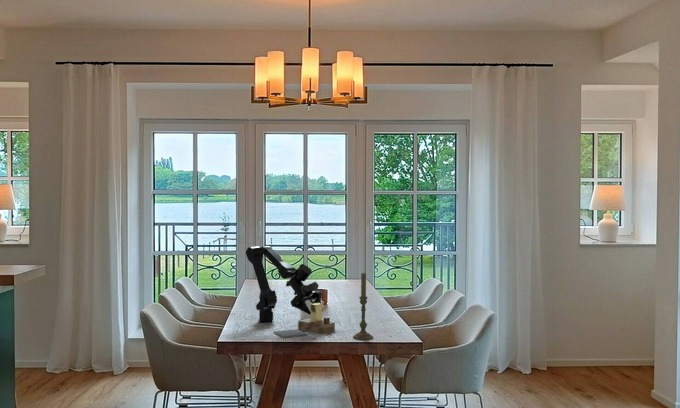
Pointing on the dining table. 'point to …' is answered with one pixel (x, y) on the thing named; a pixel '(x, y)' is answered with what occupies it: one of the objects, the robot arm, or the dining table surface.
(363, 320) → the candlestick holder
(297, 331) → the rubber mat
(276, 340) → the dining table surface
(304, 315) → the mug
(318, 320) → the tan wood-grain block
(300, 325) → the body
